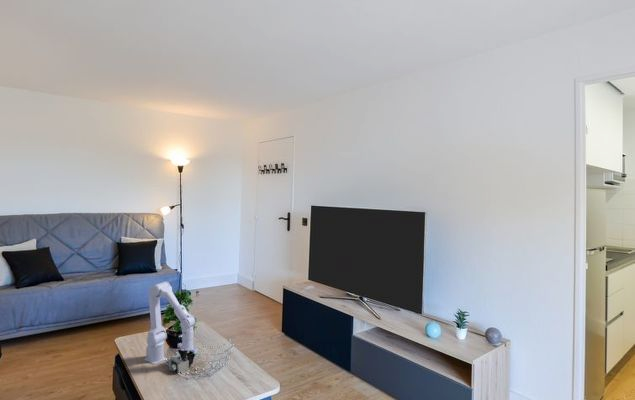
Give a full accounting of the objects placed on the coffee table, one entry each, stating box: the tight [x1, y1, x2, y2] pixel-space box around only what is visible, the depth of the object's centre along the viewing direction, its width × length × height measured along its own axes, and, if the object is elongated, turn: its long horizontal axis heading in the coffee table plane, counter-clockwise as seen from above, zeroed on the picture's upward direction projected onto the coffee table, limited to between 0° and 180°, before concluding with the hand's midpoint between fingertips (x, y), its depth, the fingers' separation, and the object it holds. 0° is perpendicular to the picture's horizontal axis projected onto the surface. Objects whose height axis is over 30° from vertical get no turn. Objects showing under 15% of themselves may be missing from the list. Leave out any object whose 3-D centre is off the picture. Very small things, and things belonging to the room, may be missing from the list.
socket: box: [168, 356, 190, 374], centre depth 190 cm, size 8×6×6 cm
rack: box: [167, 351, 201, 363], centre depth 202 cm, size 8×15×2 cm, turn 148°
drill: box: [171, 357, 194, 372], centre depth 191 cm, size 11×5×5 cm, turn 148°
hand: (187, 363), depth 194 cm, fingers closed on drill, 5 cm apart
